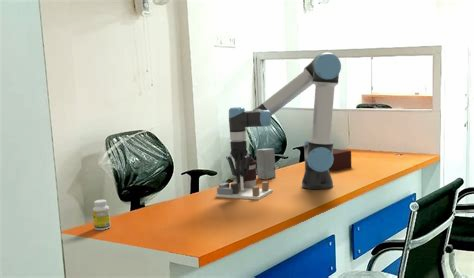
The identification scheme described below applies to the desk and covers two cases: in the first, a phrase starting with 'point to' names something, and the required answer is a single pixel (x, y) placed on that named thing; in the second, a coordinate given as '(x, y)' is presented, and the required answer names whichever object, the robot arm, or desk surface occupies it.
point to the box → (341, 160)
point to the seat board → (244, 191)
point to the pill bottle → (101, 215)
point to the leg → (235, 187)
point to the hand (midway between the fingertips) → (241, 189)
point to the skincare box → (265, 163)
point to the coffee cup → (250, 174)
